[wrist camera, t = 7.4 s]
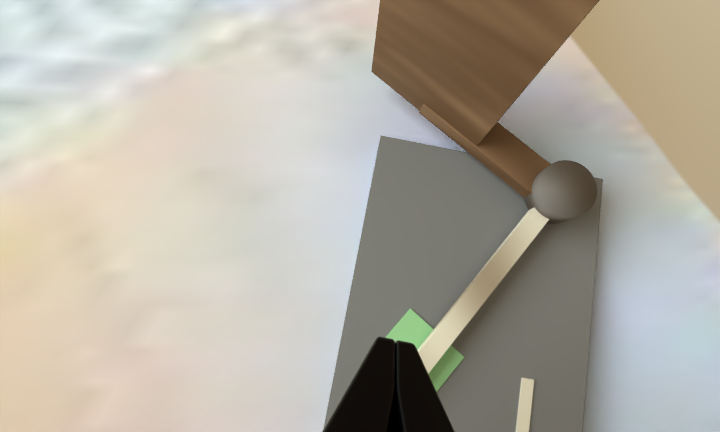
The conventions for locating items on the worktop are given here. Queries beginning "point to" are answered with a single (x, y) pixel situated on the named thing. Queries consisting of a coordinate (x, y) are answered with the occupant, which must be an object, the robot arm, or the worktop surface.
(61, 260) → the worktop surface
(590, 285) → the gray rectangular base plate
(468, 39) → the pull lever
